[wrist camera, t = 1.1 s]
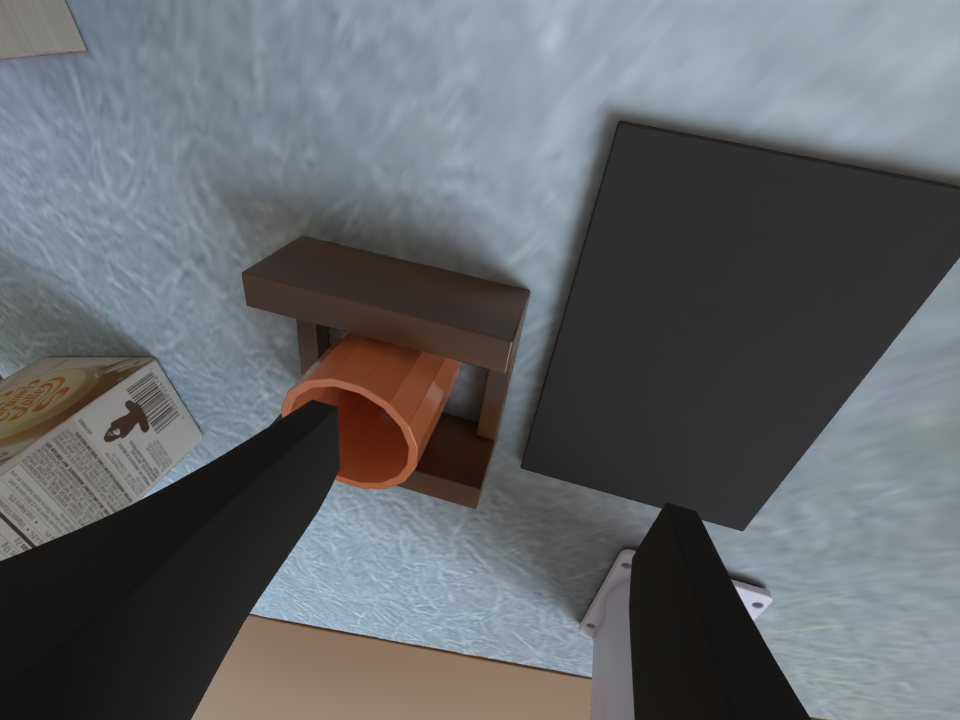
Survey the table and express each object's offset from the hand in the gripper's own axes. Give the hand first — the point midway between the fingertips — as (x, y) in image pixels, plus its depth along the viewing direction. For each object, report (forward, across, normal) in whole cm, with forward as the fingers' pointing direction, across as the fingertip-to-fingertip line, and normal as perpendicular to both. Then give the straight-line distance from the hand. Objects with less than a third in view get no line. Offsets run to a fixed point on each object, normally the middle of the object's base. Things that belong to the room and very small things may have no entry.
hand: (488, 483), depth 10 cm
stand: (+10, +6, +5) cm, 13 cm away
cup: (+10, +6, +5) cm, 13 cm away
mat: (+10, -6, +2) cm, 12 cm away
